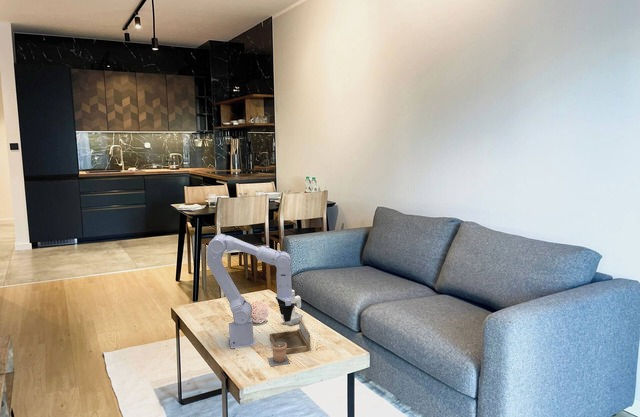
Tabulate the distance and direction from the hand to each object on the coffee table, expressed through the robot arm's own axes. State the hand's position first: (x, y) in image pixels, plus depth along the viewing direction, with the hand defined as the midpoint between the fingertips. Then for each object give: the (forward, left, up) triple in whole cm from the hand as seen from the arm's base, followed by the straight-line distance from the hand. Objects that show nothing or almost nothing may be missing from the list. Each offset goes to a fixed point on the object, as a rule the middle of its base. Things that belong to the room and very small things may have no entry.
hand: (285, 317), depth 191 cm
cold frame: (0, -4, -10) cm, 11 cm away
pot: (-6, -16, -9) cm, 19 cm away
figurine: (+6, +18, -10) cm, 21 cm away
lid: (+6, -4, -10) cm, 12 cm away
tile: (-6, -17, -10) cm, 20 cm away
